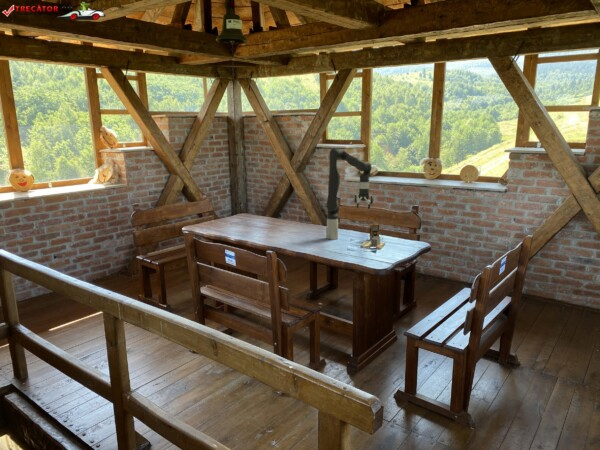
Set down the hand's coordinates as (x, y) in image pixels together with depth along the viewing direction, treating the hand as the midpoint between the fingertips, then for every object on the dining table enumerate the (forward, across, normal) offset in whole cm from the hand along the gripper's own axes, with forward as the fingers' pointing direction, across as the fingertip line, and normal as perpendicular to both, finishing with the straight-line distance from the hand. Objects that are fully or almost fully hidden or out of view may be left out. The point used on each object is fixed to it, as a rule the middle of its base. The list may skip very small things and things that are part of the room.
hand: (363, 208), depth 346 cm
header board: (+30, +8, +1) cm, 31 cm away
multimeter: (+30, +6, +20) cm, 37 cm away
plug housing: (+28, +10, +1) cm, 30 cm away
